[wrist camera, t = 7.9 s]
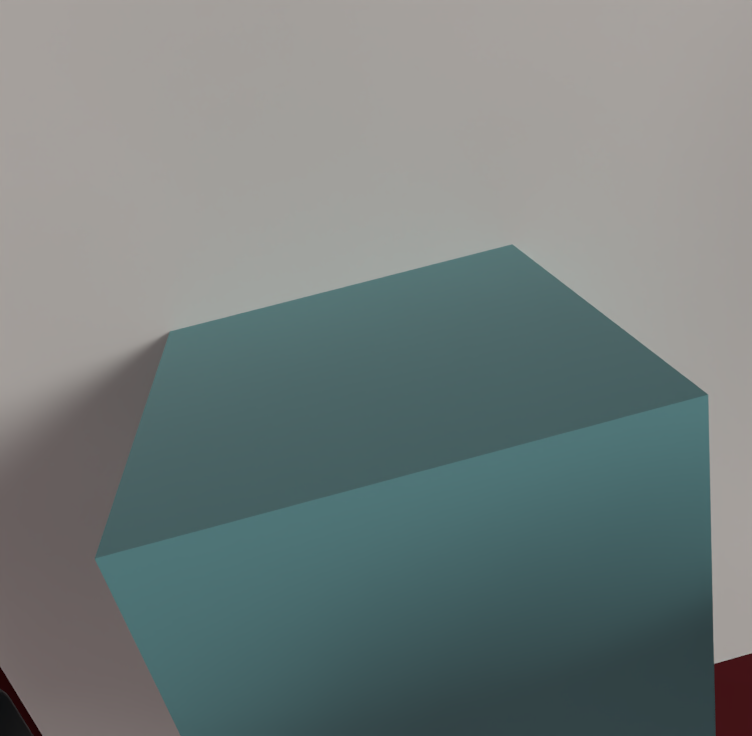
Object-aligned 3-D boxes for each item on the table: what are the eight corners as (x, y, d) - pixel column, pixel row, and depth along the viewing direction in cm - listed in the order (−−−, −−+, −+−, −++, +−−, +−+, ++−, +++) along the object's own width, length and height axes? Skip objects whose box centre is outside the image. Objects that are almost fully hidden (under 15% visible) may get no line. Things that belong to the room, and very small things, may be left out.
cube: (550, 522, 12) (716, 790, 8) (267, 599, 12) (270, 921, 8) (511, 244, 10) (707, 395, 6) (170, 331, 10) (94, 558, 6)
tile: (769, 621, 15) (788, 642, 14) (110, 808, 14) (104, 838, 14) (786, -189, 9) (819, -203, 9) (-322, 73, 9) (-362, 74, 8)
